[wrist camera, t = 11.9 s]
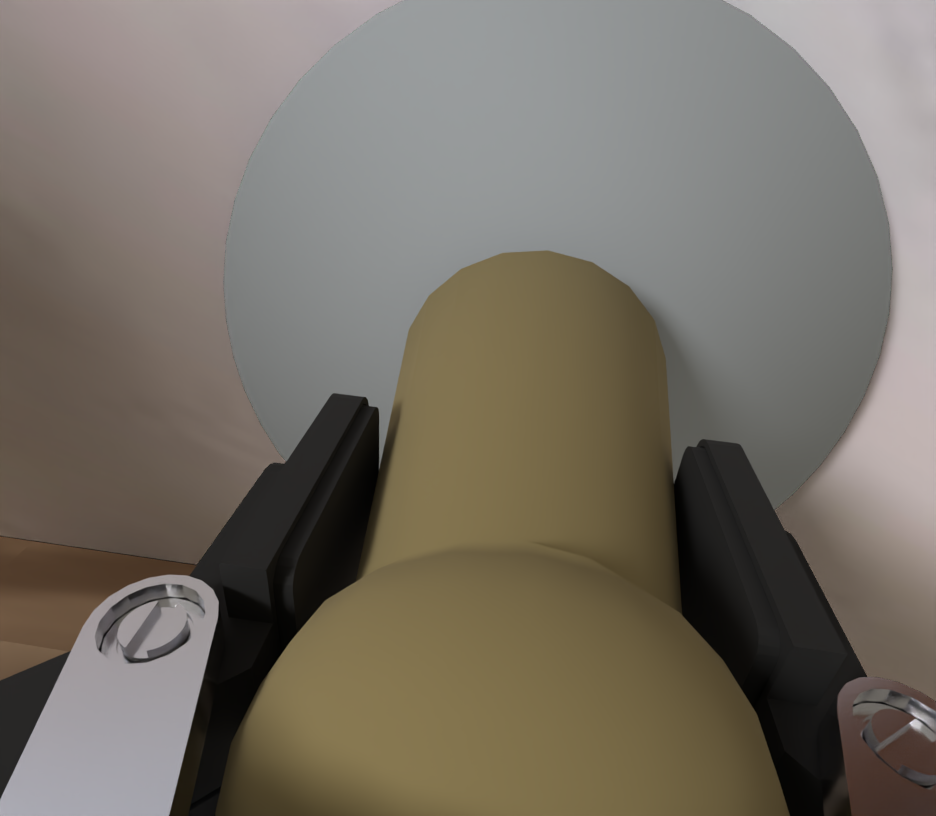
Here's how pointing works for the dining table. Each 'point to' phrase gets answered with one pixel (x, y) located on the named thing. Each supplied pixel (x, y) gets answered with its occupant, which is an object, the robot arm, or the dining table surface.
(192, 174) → the dining table surface
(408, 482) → the cork
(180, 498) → the dining table surface
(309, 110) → the slate mat
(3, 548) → the walnut holder
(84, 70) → the dining table surface
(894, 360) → the dining table surface
